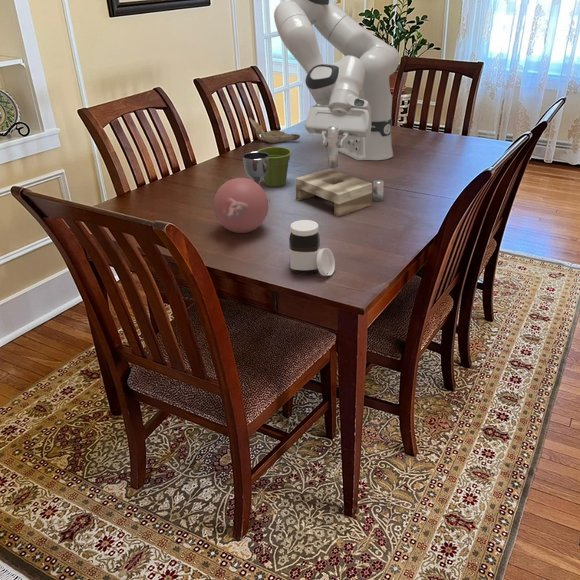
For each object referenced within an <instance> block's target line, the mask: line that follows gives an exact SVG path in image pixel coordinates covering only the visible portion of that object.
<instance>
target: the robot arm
mask: <svg viewBox="0 0 580 580" xmlns="http://www.w3.org/2000/svg"><path fill="white" fill-rule="evenodd" d="M273 19H274V24H275V27H276V30H277V33H278V36H279V37H280V40H281V41H282V43H283V44H284V46H285V47H286V48H287V51H289V53H290V54H291V55H292V57H294V59H295V60H296V61H297V63H298V64H299V65H300V66H301V67H302V68H303V70H304V71H305V72H306V77H305V85H306V87H307V90H308V91H309V93H310V94H311V96H312V98H313V100H314V102H315V104H314V105H311V106H310V107H309V110H308V115H307V117H306V120H305V123H304V127H305V129H306V131H307V133H308V134H316V135H317V134H319V135H321V136H322V138H323V141H322V146H323V147H326V148H328V127H329V126H338V127H339V136H343V137H342V138H341V139H339V140H338V143H337V147H338V153H341V154H344V155H345V156H347V157H350V158H351V159H354V160H356V161H384V160H388V159H390V158H391V159H392V157H394V151H393V146H392V145H393V144H392V129H393V118H392V111H393V110H392V109H393V108H392V107H393V95H392V94H391V88H390V76H392V75H393V74H394V73H395V72H396V71H397V69H398V68H399V65H400V61H401V56H400V53H399V51H398V50H397V48H395V46H392V45H390V44H388V43H386V42H385V41H384V40H382V39H381V38H379V37H377V36H376V35H374V34H372V33H371V32H369V31H368V30H366V29H365V28H364V27H363V26H361V25H360V24H359V23H358V22H357V21H355V20H354V19H353V18H352V17H351V16H350V15H349V14H348V13H346V11H344V10H343V9H341V8H340V7H338V6H337V5H335V4H333V3H332V2H330V0H284V1H281V2H280V3H279V4H278V5H277V6H276V7H275V9H274V13H273ZM313 26H314V27H315V29H316V30H317V32H318V33H319V34H320V35H321V36H323V38H324V39H326V40H327V42H329V43H330V44H331V46H333V47H334V48H336V50H338V51H339V52H340V53H341V54H342V55H344V56H343V57H342V58H340V59H339V60H337V61H335V62H331V63H329V64H328V63H327V64H326V63H324V61H323V57H322V55H321V50H320V47H319V44H318V40H317V38H316V37H317V36H316V34H315V30H314V28H313ZM360 93H361V94H360ZM360 95H361V98H360Z"/></svg>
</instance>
